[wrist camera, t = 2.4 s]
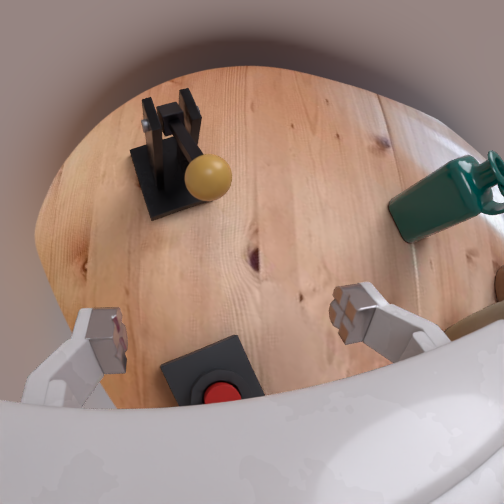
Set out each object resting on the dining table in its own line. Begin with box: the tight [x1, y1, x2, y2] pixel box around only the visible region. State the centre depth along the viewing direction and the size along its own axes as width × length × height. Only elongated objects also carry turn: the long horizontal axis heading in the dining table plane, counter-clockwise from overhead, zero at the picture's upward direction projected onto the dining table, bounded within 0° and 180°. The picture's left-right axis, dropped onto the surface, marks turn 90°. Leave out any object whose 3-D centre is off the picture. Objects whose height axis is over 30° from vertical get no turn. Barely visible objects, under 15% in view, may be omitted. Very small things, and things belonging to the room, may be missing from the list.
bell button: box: [204, 382, 241, 404], centre depth 31 cm, size 4×4×2 cm
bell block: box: [160, 335, 265, 407], centre depth 33 cm, size 12×10×4 cm
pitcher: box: [389, 150, 504, 243], centre depth 38 cm, size 10×8×22 cm
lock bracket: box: [130, 88, 209, 221], centre depth 33 cm, size 11×9×15 cm
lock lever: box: [156, 102, 232, 201], centre depth 25 cm, size 14×4×4 cm, turn 24°
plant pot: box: [445, 300, 504, 342], centre depth 38 cm, size 15×15×16 cm
